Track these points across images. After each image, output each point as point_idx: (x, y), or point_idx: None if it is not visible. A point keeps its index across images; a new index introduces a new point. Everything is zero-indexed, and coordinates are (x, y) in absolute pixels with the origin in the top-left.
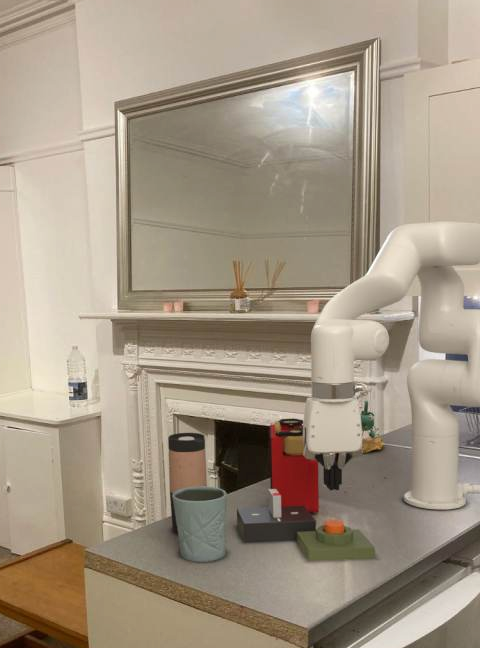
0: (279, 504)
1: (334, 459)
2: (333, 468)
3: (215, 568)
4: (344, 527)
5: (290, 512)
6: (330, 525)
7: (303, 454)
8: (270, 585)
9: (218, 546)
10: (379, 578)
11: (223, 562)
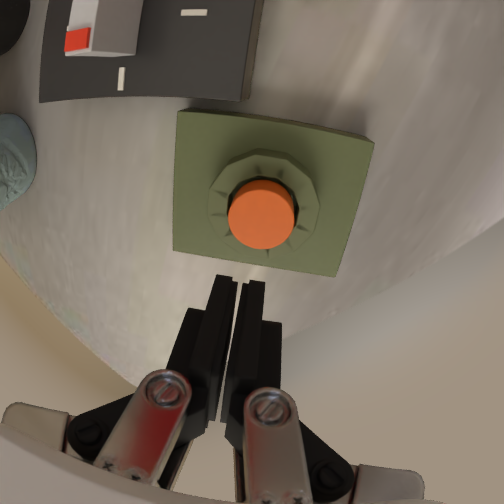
0: (105, 53)
1: (244, 430)
2: (222, 407)
3: (30, 224)
4: (304, 199)
5: (184, 2)
6: (239, 238)
7: (11, 420)
8: (104, 307)
9: (12, 199)
10: (284, 336)
11: (36, 201)
